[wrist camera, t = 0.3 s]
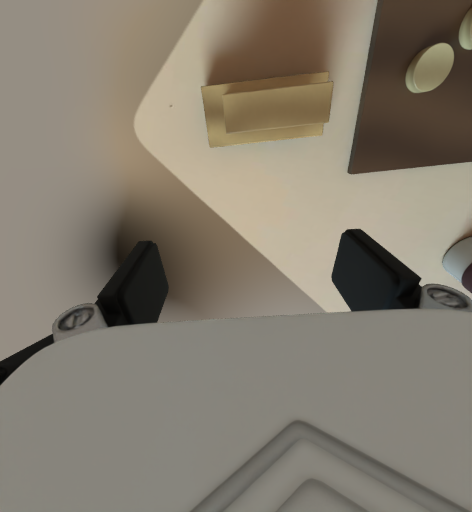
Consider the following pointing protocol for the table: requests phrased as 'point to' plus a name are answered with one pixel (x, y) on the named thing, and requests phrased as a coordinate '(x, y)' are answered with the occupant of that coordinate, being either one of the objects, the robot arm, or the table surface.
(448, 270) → the coffee cup
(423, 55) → the token
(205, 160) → the table surface
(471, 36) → the disc
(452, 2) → the tray
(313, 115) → the brush
